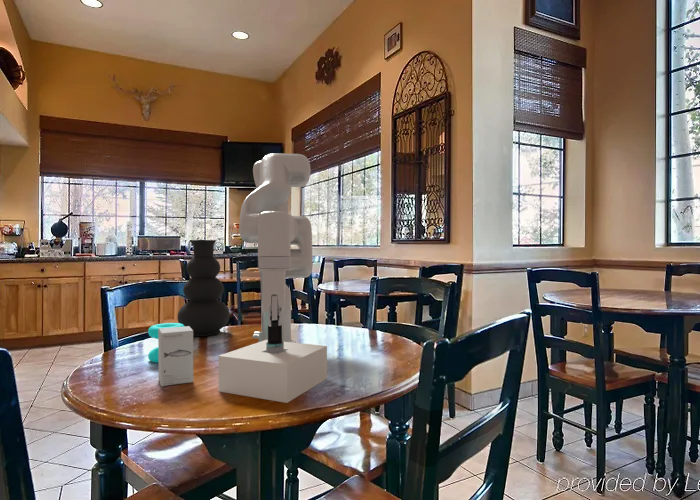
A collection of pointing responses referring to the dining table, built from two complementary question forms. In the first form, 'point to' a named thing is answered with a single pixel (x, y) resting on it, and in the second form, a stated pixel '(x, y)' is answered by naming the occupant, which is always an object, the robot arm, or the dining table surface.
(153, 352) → the donuts
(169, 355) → the supplement box
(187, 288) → the vase
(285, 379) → the block
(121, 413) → the dining table surface
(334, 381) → the dining table surface
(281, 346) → the peg
